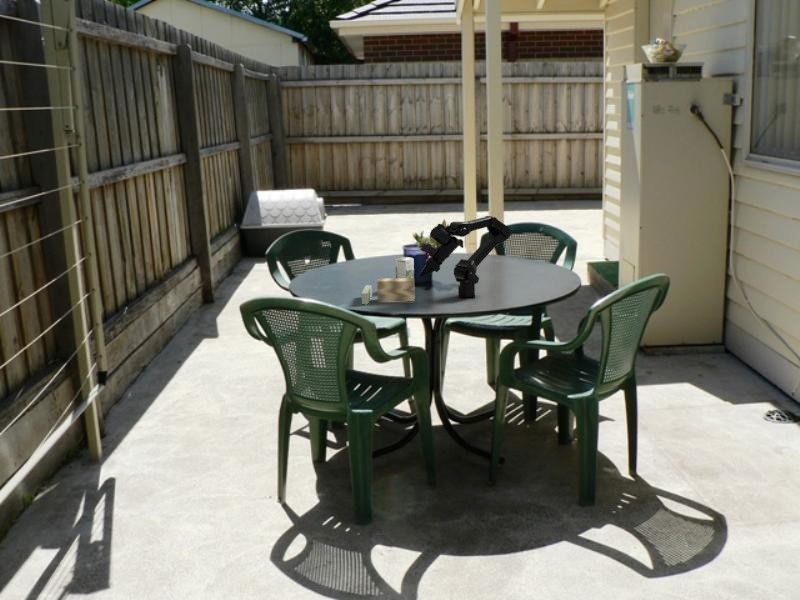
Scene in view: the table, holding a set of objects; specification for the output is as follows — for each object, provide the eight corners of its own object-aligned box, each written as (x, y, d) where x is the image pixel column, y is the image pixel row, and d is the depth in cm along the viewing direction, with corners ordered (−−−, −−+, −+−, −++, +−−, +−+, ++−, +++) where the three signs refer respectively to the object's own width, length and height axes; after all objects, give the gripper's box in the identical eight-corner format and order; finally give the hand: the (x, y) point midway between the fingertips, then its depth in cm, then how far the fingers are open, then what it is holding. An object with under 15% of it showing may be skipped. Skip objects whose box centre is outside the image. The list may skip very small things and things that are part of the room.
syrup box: (404, 288, 384) (403, 256, 380) (414, 290, 380) (413, 257, 377) (395, 291, 379) (395, 258, 376) (406, 292, 376) (405, 259, 372)
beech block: (414, 299, 364) (414, 278, 362) (414, 302, 358) (413, 281, 356) (379, 299, 365) (378, 278, 363) (377, 302, 359) (377, 281, 357)
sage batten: (372, 296, 370) (371, 285, 369) (368, 305, 354) (367, 293, 353) (366, 296, 370) (365, 285, 369) (362, 305, 355) (361, 293, 353)
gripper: (432, 231, 363) (407, 258, 367) (430, 239, 345) (404, 266, 349) (452, 250, 364) (426, 276, 368) (451, 258, 346) (424, 285, 350)
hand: (420, 275), depth 358 cm, fingers closed
